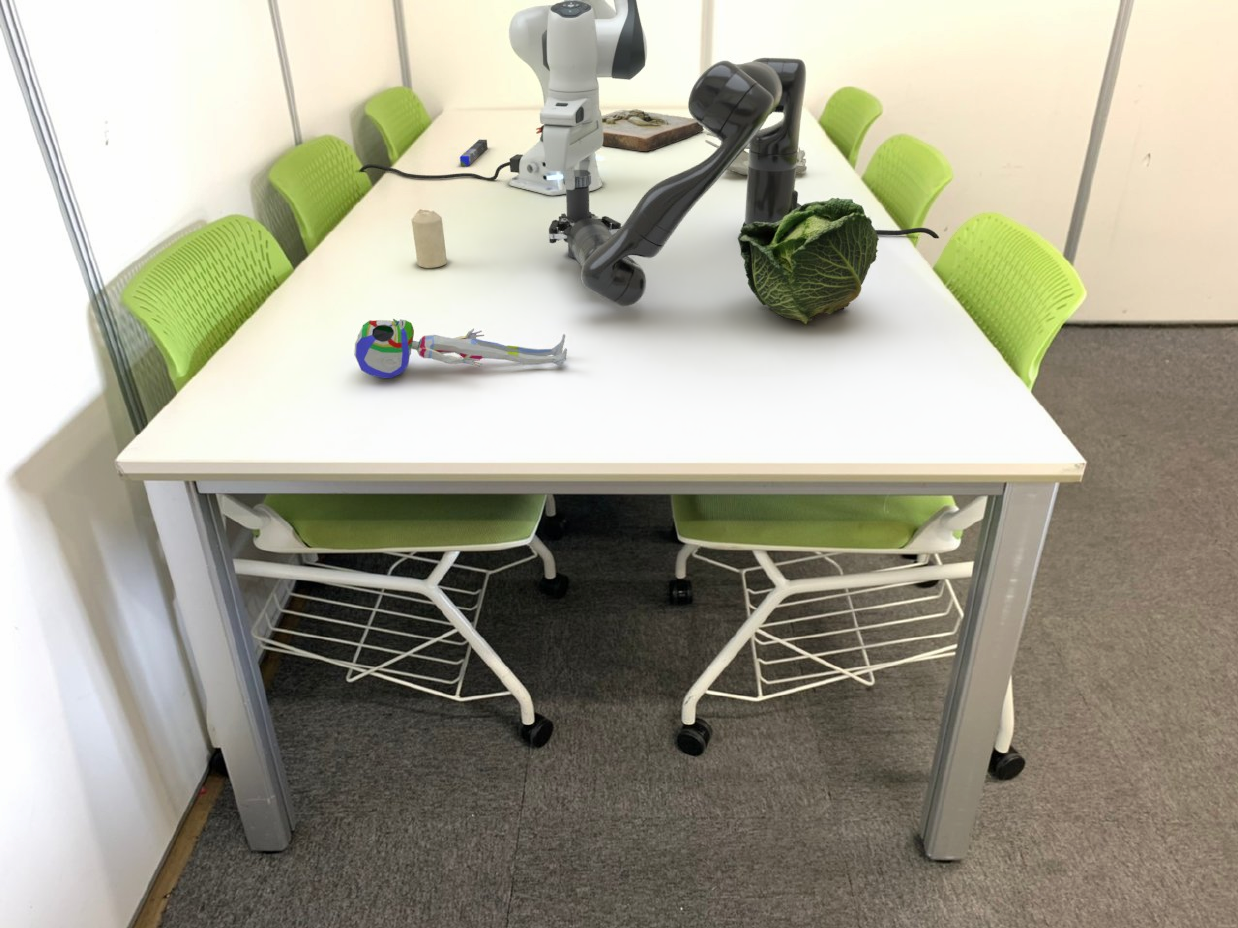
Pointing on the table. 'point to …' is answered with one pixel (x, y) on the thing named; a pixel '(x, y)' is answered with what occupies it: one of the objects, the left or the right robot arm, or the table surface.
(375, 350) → the toy
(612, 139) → the plaque
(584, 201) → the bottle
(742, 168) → the anatomical model
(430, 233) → the candle
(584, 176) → the lid
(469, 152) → the blue-capped grey bar
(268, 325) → the table surface
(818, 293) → the vegetable
